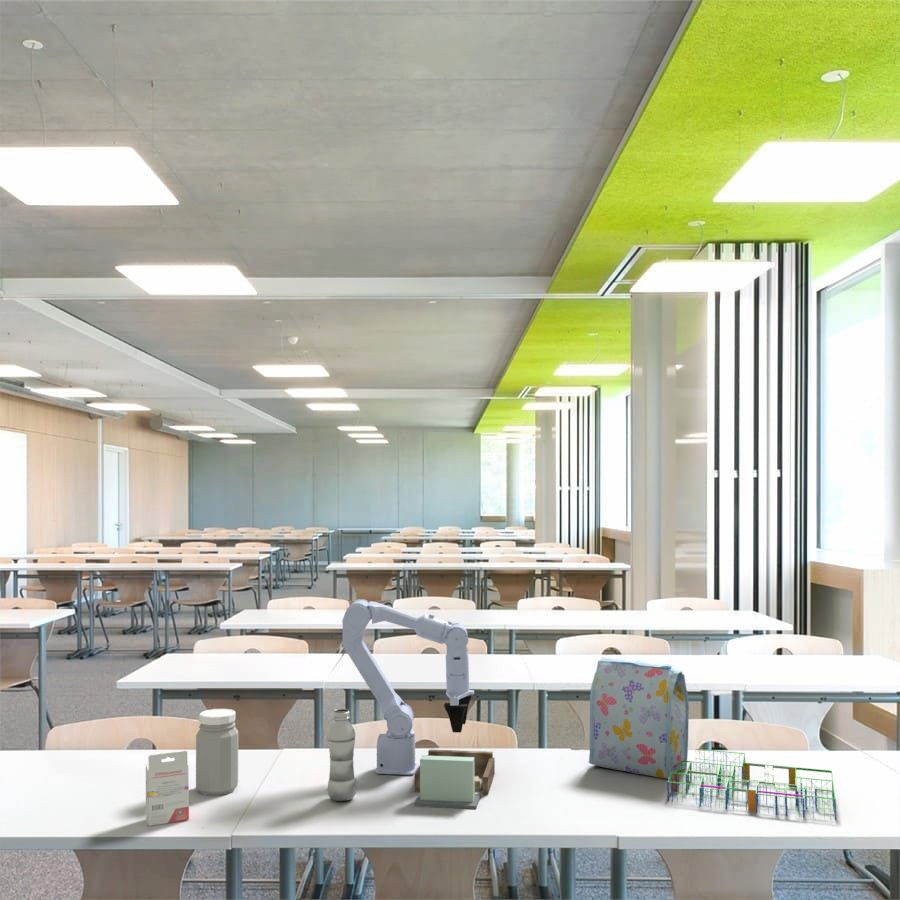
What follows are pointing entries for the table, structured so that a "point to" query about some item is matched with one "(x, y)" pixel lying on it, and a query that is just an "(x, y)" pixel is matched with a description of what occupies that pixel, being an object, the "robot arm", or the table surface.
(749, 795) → the house model
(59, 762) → the table surface
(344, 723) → the plastic bottle
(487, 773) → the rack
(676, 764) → the lunch bag
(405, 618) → the robot arm
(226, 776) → the jar
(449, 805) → the mat
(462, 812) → the table surface
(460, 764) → the pale green block
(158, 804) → the ink cartridge box
